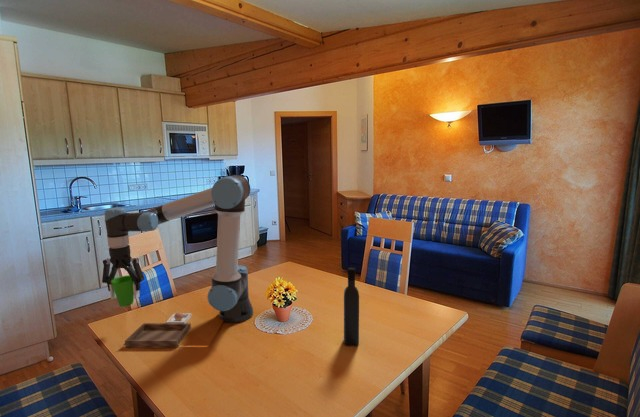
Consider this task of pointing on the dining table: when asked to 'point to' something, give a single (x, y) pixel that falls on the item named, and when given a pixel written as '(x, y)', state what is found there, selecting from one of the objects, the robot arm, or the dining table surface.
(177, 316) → the ball
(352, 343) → the wine bottle
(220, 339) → the dining table surface
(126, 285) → the cup
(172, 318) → the dish
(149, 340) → the tray
